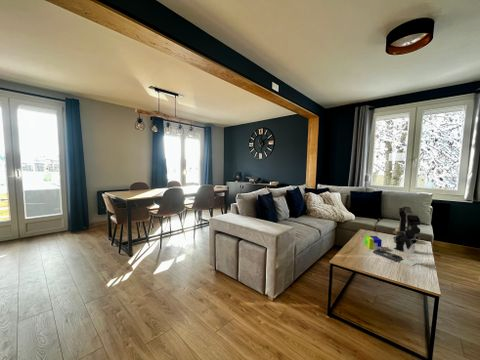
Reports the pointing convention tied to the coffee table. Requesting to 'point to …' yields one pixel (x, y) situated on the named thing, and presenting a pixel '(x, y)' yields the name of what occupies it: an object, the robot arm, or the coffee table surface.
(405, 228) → the owl figurine
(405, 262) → the mat
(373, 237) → the puzzle toy
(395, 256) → the slotted plate
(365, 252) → the coffee table surface
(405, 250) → the brushed metal block
